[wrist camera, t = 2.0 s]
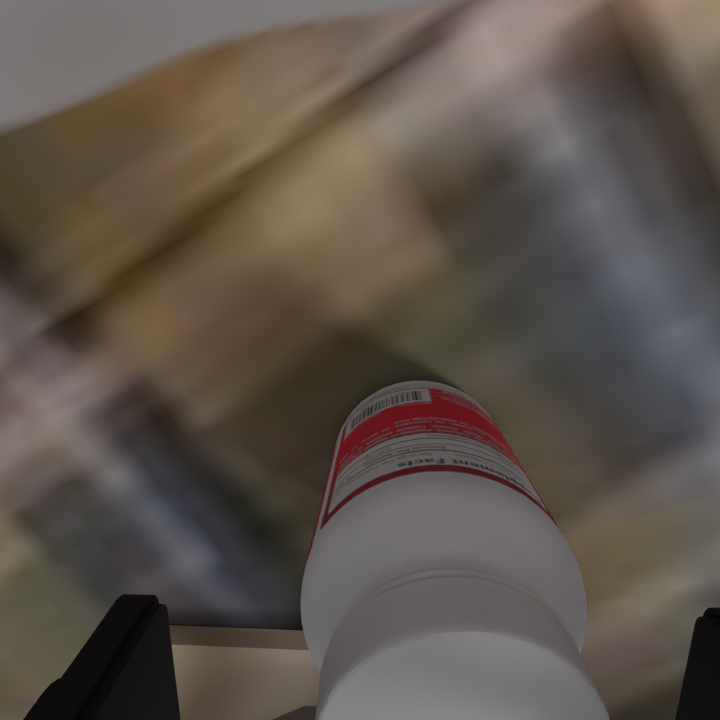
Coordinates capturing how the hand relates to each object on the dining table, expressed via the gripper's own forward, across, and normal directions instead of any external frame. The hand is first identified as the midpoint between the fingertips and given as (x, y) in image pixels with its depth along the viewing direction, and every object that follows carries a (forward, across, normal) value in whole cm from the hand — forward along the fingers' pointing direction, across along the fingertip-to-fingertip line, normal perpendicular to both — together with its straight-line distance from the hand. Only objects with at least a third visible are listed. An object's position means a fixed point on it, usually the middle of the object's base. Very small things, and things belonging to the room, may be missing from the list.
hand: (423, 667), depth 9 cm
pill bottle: (+10, -1, +1) cm, 10 cm away
